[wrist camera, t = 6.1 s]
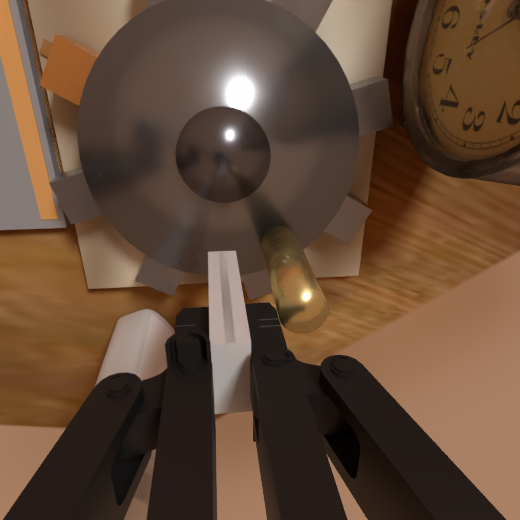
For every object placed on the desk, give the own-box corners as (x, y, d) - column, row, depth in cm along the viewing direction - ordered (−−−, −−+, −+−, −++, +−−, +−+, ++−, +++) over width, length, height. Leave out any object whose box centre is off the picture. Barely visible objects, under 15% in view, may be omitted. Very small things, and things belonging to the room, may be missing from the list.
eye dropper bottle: (194, 309, 25) (182, 504, 14) (185, 381, 27) (167, 595, 17) (118, 302, 24) (44, 502, 13) (115, 377, 26) (50, 598, 16)
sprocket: (278, 322, 24) (304, 430, 18) (10, 211, 20) (-97, 296, 13) (441, 79, 19) (570, 95, 12) (130, -145, 15) (58, -318, 8)
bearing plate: (92, 281, 23) (87, 289, 22) (24, -49, 17) (15, -53, 16) (354, 269, 25) (359, 276, 24) (390, -40, 18) (398, -44, 17)
